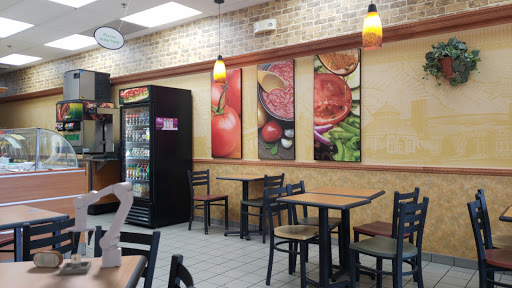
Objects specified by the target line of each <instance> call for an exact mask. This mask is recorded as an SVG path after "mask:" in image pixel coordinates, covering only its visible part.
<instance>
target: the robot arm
mask: <svg viewBox="0 0 512 288" xmlns="http://www.w3.org/2000/svg"><path fill="white" fill-rule="evenodd" d="M134 192H135V189H134V186H133V183H132V182H130V181H125V182H118V183H115V184H110V185H109V186H107V187H104V188H103V189H100V190H98V191H96V190H90V191H89V192H88V193H86V194H82V195H81V196H79V197H75V198H74V199H73V200H72V206H73V207H74V212H75V213H74V216H75V217H74V219H75V220H74V227H67V228H65V233H66V234H67V236H68V238H69V240H70V243H71V247H74V246H75V233H79V232H82V233H84V232H87V246H90V245H91V240H92V237H93V235H94V232H96V231H97V227H96V226H88V208H89V206H90V205H92V204H95V203H97V202H99V201H100V199H101V198H102V197H105V196H107V195H110V194H112V195H113V194H114V195H115V196H116V197H117V199H118V200H119V201H120V205H119V207H118V209H117V211H116V213H115V215H114V217H113V221H112V222H111V224H110V226H109V228H108V230H107V231H106V232H105V233H104V235H103V236H102V237H101V238H100V239H99V246H100V248H101V265H100V269H103V268H116V267H115V266H119V267H121V265H120V264H122V247H118V244H119V243H120V241H121V239H120V236H121V234H122V233H120V231H121V229H122V227H123V225H124V223H125V220H126V219H127V217H128V215H129V212H130V210H131V207H132V205H133V203H134Z"/></svg>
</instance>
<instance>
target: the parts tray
mask: <svg viewBox="0 0 512 288" xmlns="http://www.w3.org/2000/svg"><path fill="white" fill-rule="evenodd" d="M91 267H92V260H89V261H88V260H87V261H81V268H78V269H71V261H70V262H65V263H64V265H63V266H61V268H60V269H59V276H72V275H84V274H88V273H89V270H90V269H91Z"/></svg>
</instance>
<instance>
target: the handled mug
mask: <svg viewBox="0 0 512 288" xmlns="http://www.w3.org/2000/svg"><path fill="white" fill-rule="evenodd" d="M70 262H71V269H78V268H81V262H82V254H81V253H74V254H71V256H70Z"/></svg>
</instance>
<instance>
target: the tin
mask: <svg viewBox="0 0 512 288" xmlns="http://www.w3.org/2000/svg"><path fill="white" fill-rule="evenodd" d="M32 260H33V264H34V266H36V267H38V268H47V269H56V268H58V267H60V266H61V265H62V264H63V262H64V256H63V254H62V253H61V251H58V250H49V249H48V250H47V249H46V250H45V249H40V250H39V251H37V252H35V254H33V257H32Z"/></svg>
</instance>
